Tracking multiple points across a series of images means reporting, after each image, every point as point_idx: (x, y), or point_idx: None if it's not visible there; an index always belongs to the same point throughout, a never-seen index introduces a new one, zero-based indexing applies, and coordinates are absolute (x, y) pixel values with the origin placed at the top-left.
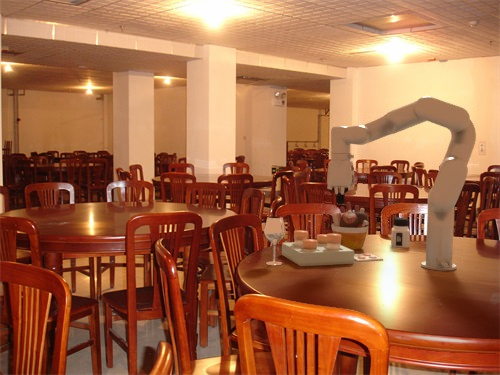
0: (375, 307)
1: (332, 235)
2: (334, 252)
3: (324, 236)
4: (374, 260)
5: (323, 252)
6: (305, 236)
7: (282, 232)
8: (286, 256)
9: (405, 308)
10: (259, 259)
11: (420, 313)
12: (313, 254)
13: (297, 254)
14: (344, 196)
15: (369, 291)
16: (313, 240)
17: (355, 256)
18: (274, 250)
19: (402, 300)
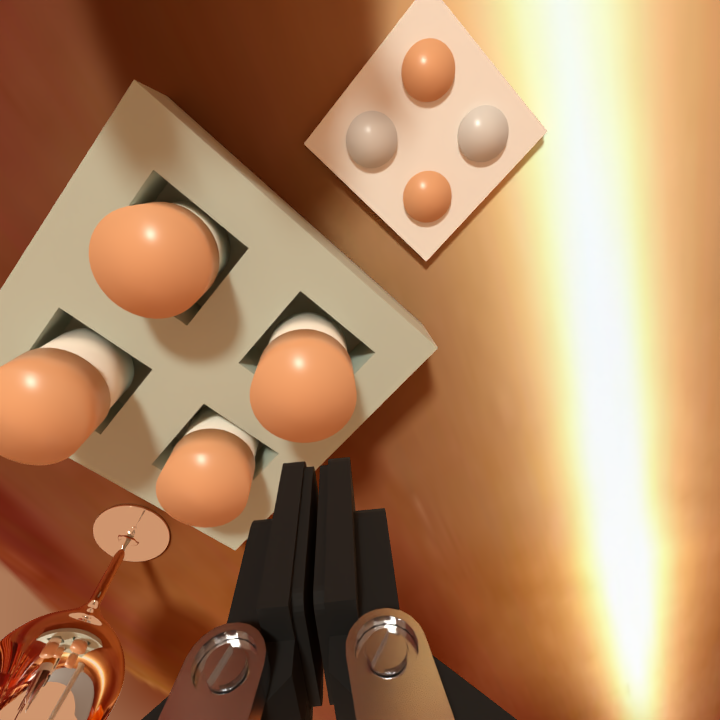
0: (614, 709)
1: (311, 430)
2: (353, 429)
3: (181, 303)
4: (499, 179)
5: None
6: (99, 419)
7: (119, 690)
8: None
9: (678, 684)
10: (15, 505)
11: (710, 692)
12: None
13: None
14: (396, 597)
15: (580, 628)
16: (219, 481)
17: (379, 172)
18: (108, 585)
19: (671, 644)
